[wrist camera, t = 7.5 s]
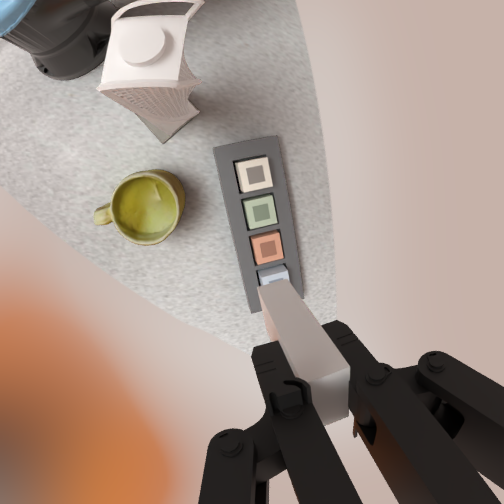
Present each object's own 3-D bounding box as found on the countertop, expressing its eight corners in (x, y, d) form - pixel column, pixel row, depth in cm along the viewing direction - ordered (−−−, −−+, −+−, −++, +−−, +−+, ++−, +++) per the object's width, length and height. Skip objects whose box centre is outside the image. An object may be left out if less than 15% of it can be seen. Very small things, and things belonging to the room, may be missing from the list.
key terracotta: (248, 234, 44) (252, 239, 42) (273, 228, 45) (279, 233, 42) (253, 258, 46) (257, 265, 43) (278, 251, 46) (283, 258, 43)
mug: (195, 156, 38) (174, 183, 30) (194, 220, 44) (177, 260, 36) (116, 153, 38) (80, 179, 29) (122, 214, 44) (94, 249, 35)
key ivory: (234, 162, 39) (237, 163, 37) (262, 157, 40) (267, 157, 37) (240, 190, 41) (244, 192, 38) (267, 184, 41) (273, 186, 38)
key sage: (241, 199, 43) (244, 202, 40) (267, 193, 43) (272, 195, 40) (246, 224, 44) (250, 229, 41) (272, 218, 44) (277, 223, 41)
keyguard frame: (212, 148, 40) (213, 147, 37) (272, 136, 41) (277, 135, 38) (248, 306, 49) (251, 313, 46) (299, 292, 50) (304, 298, 47)
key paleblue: (257, 270, 45) (261, 277, 42) (282, 263, 45) (288, 270, 43) (262, 292, 46) (266, 301, 44) (286, 285, 47) (291, 294, 44)
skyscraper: (177, 73, 35) (155, -42, 9) (212, 111, 38) (241, 31, 12) (133, 111, 36) (40, 47, 10) (167, 149, 39) (113, 132, 12)
